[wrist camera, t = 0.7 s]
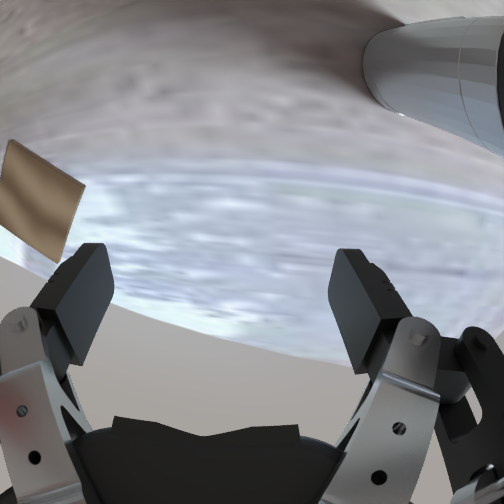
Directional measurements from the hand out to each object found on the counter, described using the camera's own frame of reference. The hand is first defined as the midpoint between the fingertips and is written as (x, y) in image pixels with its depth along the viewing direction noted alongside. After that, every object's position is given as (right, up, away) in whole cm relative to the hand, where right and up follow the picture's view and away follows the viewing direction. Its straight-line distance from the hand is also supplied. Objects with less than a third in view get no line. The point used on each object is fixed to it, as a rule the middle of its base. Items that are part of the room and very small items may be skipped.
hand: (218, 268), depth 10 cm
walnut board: (-25, +6, +18) cm, 31 cm away
